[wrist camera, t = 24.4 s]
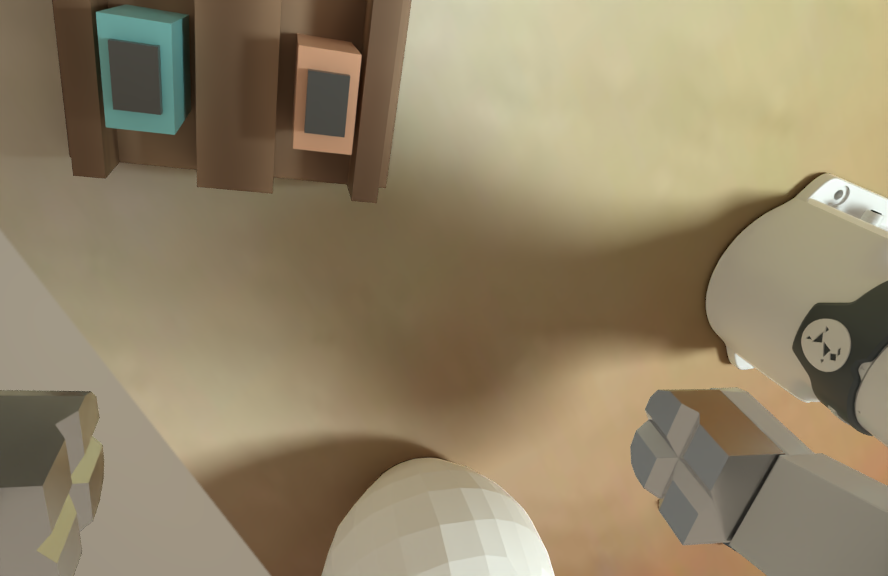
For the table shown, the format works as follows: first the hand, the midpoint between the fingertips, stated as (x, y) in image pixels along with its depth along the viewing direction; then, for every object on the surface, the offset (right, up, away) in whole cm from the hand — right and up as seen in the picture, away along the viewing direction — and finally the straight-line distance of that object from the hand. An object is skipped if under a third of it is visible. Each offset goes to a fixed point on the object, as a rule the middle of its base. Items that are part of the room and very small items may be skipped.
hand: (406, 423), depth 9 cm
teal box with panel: (-15, +14, +23) cm, 31 cm away
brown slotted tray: (-11, +15, +25) cm, 31 cm away
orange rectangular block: (-7, +14, +25) cm, 30 cm away
